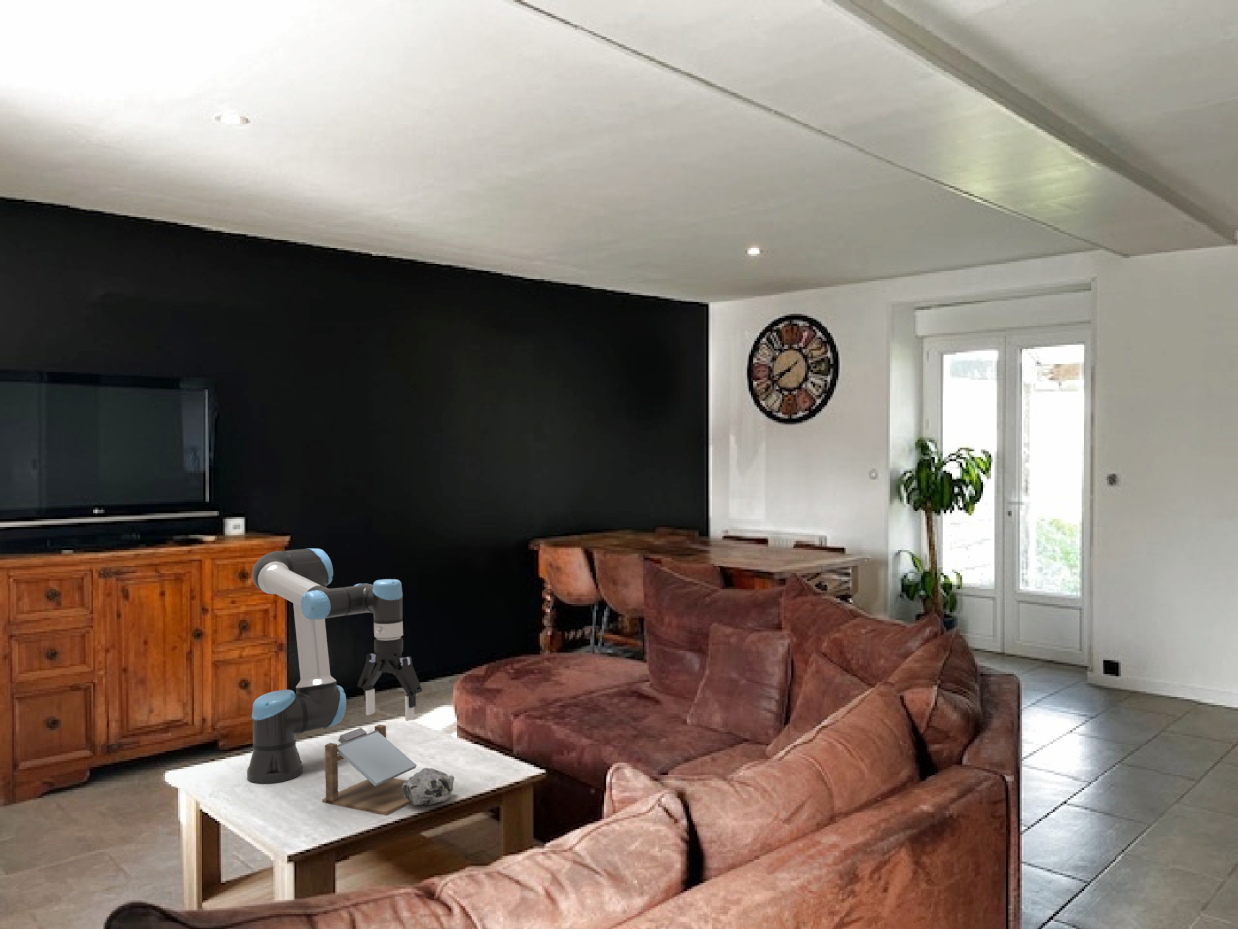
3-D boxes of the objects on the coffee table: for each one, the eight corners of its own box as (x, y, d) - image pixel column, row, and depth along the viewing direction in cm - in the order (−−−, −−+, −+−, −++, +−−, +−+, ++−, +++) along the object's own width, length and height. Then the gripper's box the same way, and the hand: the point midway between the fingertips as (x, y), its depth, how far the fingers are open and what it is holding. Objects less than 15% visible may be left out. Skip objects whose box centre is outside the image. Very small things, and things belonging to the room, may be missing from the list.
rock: (396, 785, 241) (399, 812, 242) (431, 786, 238) (434, 813, 238) (425, 764, 255) (428, 789, 256) (458, 764, 252) (461, 790, 253)
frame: (321, 802, 248) (320, 744, 248) (375, 777, 267) (374, 724, 267) (386, 815, 238) (385, 755, 238) (438, 789, 256) (437, 733, 256)
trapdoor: (326, 745, 250) (328, 739, 250) (369, 728, 265) (371, 723, 264) (373, 788, 242) (376, 782, 242) (415, 769, 257) (418, 763, 257)
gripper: (343, 636, 253) (344, 715, 253) (415, 643, 241) (417, 725, 241) (363, 632, 259) (364, 708, 260) (434, 638, 248) (435, 718, 248)
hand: (389, 716), depth 250 cm, fingers open, 13 cm apart
